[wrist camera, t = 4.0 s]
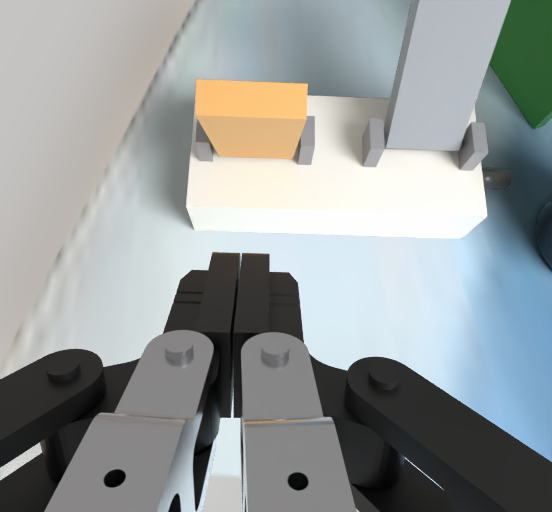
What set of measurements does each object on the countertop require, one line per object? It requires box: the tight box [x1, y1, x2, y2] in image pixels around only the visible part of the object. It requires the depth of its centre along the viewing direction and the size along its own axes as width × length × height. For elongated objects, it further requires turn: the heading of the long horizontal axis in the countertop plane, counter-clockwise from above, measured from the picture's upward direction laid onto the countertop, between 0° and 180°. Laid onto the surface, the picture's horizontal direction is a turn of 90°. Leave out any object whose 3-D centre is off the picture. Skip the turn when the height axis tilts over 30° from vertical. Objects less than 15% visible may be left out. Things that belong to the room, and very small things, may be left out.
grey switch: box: [384, 0, 511, 152], centre depth 26 cm, size 5×1×10 cm, turn 89°
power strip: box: [186, 94, 511, 239], centre depth 31 cm, size 21×8×6 cm, turn 89°
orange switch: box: [195, 79, 308, 159], centre depth 24 cm, size 5×1×10 cm, turn 89°
